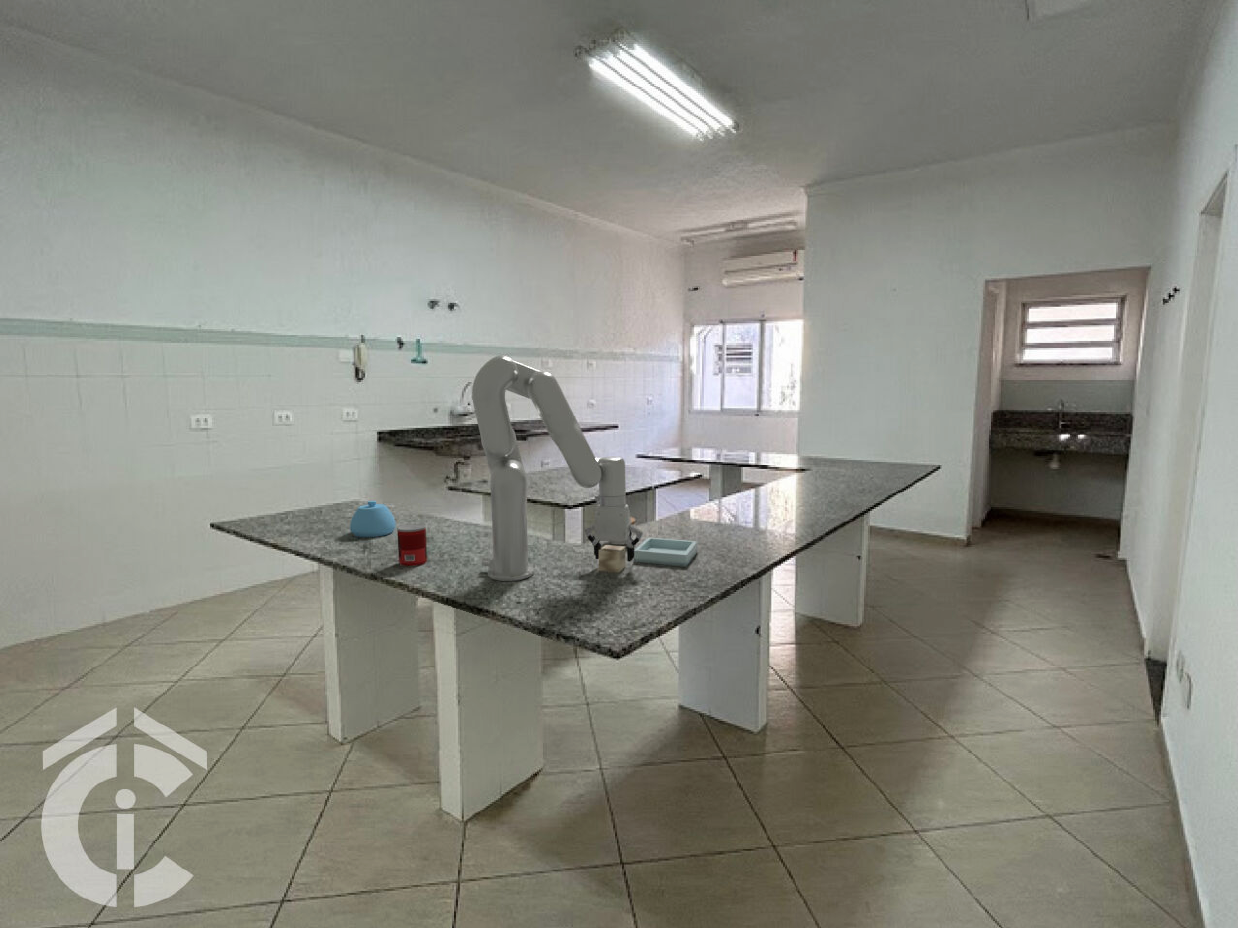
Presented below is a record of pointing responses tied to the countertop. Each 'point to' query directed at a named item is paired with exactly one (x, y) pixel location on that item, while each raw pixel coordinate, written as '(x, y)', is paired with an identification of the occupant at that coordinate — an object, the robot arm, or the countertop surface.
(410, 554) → the canned food
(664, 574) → the countertop surface
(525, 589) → the countertop surface
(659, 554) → the teal tray
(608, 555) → the birch block
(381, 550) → the countertop surface
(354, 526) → the sugar bowl
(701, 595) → the countertop surface
